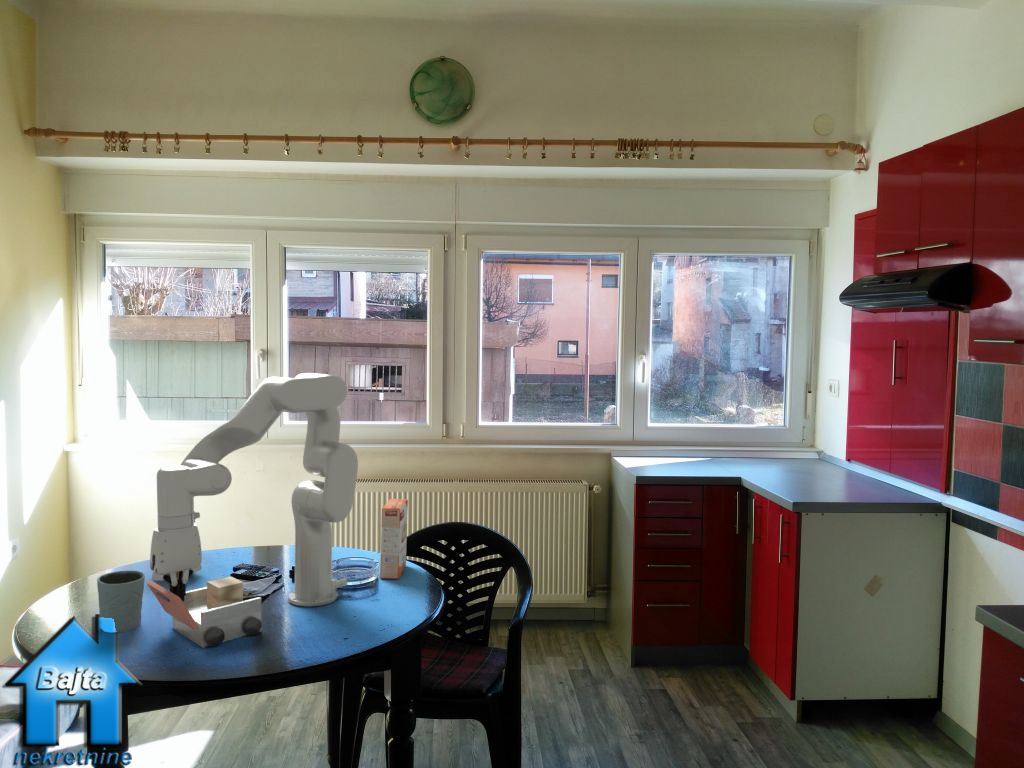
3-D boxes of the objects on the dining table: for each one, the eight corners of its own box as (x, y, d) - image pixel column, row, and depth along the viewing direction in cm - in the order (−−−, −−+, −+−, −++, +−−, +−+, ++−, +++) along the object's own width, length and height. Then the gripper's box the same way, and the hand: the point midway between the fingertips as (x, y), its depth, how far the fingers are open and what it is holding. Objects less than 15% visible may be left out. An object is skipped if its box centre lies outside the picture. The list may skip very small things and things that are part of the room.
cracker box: (400, 580, 219) (401, 508, 218) (379, 579, 219) (380, 507, 218) (407, 565, 233) (408, 498, 232) (387, 565, 233) (388, 497, 232)
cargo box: (231, 600, 184) (231, 576, 184) (242, 607, 180) (242, 582, 180) (206, 606, 180) (206, 581, 180) (218, 613, 176) (218, 587, 176)
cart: (226, 612, 190) (227, 580, 190) (263, 632, 178) (263, 599, 177) (170, 626, 180) (170, 593, 180) (205, 649, 168) (205, 614, 167)
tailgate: (169, 608, 179) (150, 579, 175) (199, 627, 168) (179, 597, 164) (163, 613, 178) (144, 583, 174) (193, 632, 167) (174, 601, 163)
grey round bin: (112, 617, 185) (112, 569, 184) (153, 619, 185) (153, 570, 184) (88, 633, 175) (87, 582, 174) (131, 635, 174) (130, 584, 174)
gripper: (201, 512, 179) (202, 588, 180) (134, 524, 168) (137, 604, 169) (215, 518, 173) (217, 596, 175) (148, 530, 163) (150, 613, 164)
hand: (177, 600), depth 172 cm, fingers closed
